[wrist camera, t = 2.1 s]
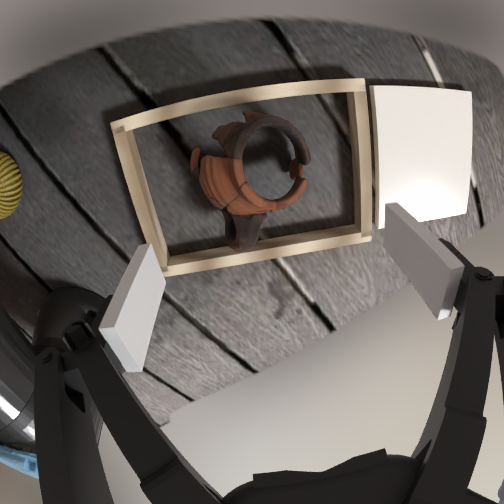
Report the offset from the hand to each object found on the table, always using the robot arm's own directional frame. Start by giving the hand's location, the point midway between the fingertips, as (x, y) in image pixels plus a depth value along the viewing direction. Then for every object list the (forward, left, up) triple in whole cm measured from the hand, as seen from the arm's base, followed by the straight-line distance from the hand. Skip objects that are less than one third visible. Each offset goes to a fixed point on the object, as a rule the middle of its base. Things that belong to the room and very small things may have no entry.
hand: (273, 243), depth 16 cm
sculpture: (-28, +7, -14) cm, 32 cm away
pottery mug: (-1, 0, -14) cm, 14 cm away
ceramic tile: (+19, 0, -14) cm, 23 cm away
